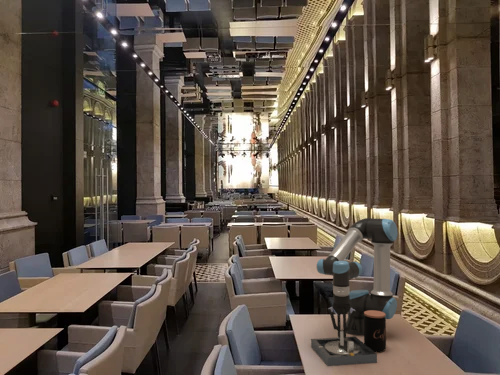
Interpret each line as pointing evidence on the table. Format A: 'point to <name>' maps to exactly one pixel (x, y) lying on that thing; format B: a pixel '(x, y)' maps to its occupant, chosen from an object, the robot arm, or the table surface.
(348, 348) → the dial
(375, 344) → the coffee jar
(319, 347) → the grey square tray
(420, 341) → the table surface
